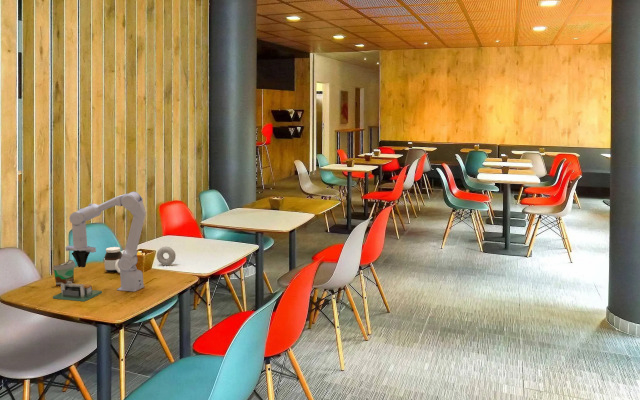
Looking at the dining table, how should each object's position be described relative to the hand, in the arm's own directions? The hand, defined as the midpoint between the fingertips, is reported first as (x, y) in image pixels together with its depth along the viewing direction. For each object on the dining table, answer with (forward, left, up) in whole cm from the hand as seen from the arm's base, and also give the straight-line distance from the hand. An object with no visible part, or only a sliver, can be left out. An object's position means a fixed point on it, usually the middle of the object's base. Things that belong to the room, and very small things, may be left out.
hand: (81, 266), depth 270 cm
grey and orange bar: (-4, +9, -6) cm, 12 cm away
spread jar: (+3, -30, -11) cm, 32 cm away
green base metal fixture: (-4, +9, -10) cm, 14 cm away
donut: (-15, -47, -11) cm, 50 cm away
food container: (+13, -6, -11) cm, 18 cm away
